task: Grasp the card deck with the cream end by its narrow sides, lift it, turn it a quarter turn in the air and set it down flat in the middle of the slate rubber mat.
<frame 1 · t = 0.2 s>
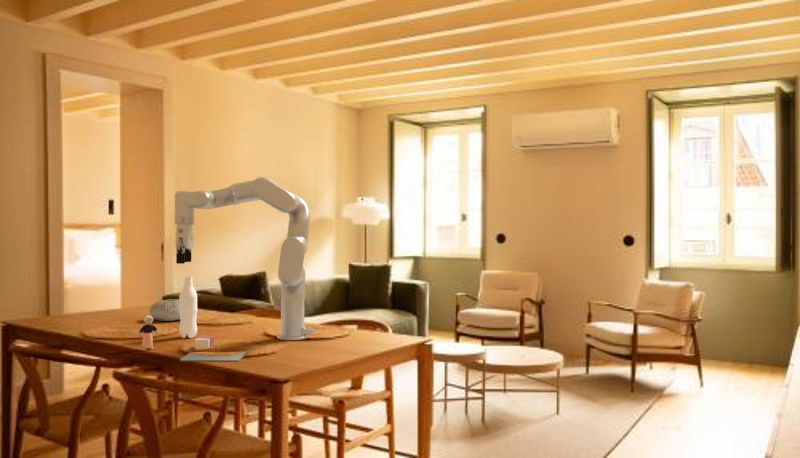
hand: (184, 262, 265), 31 cm above the table, tool pointing down, fingers open, 9 cm apart
mat: (214, 357, 228), on the table
grey rounded rock: (169, 320, 310), on the table
card deck: (204, 348, 244), on the table
grandmother figurine: (148, 349, 241), on the table
water bottle: (188, 337, 266), on the table
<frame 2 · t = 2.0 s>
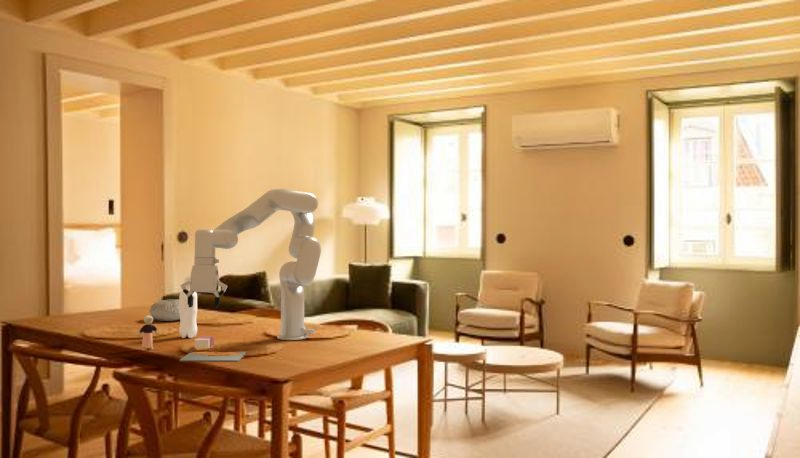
hand: (203, 307, 244), 16 cm above the table, tool pointing down, fingers open, 9 cm apart
nothing on the table moved.
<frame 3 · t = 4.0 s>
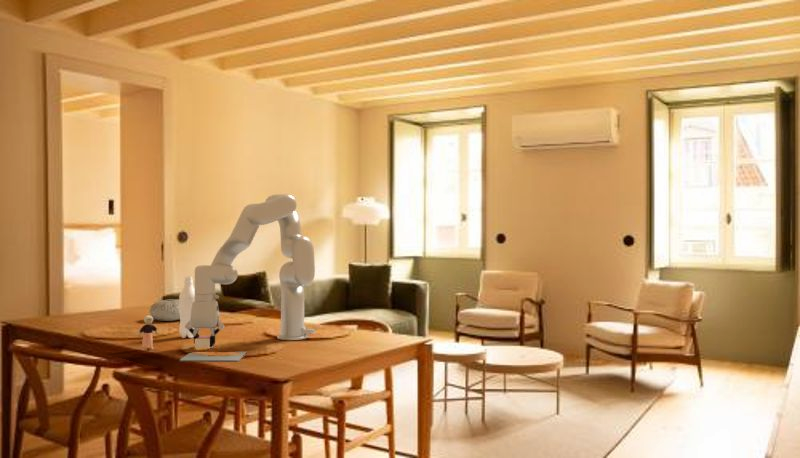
hand: (204, 345, 244), 1 cm above the table, tool pointing down, fingers closed on card deck, 4 cm apart
card deck: (204, 348, 244), on the table, touching gripper
everything else where it was.
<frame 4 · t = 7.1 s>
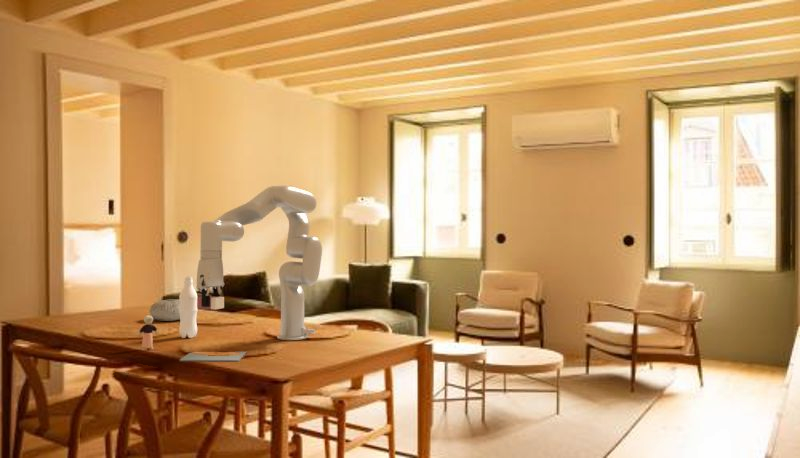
hand: (210, 305, 233), 18 cm above the table, tool pointing down, fingers closed on card deck, 4 cm apart
card deck: (210, 308, 233), point 17 cm above the table, touching gripper
everything else where it was.
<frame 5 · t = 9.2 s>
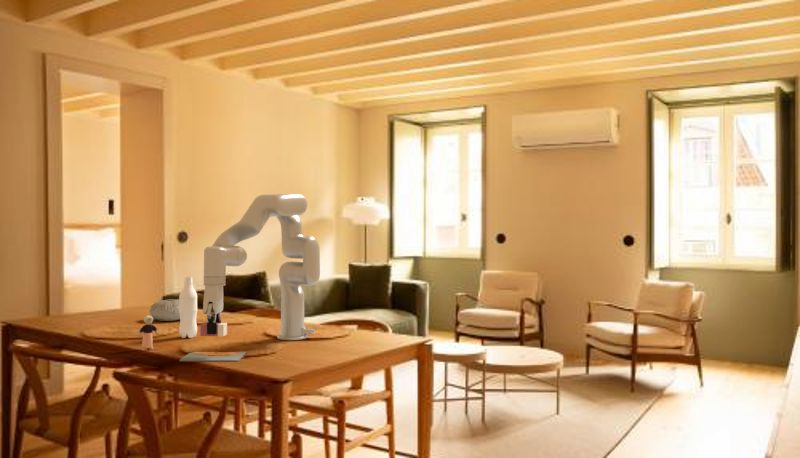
hand: (213, 332, 228), 9 cm above the table, tool pointing down, fingers closed on card deck, 4 cm apart
card deck: (213, 334, 228), point 8 cm above the table, touching gripper
everything else where it was.
when the fingers open (3 cm above the table, at t = 10.7 s): card deck drops 1 cm, resting on mat.
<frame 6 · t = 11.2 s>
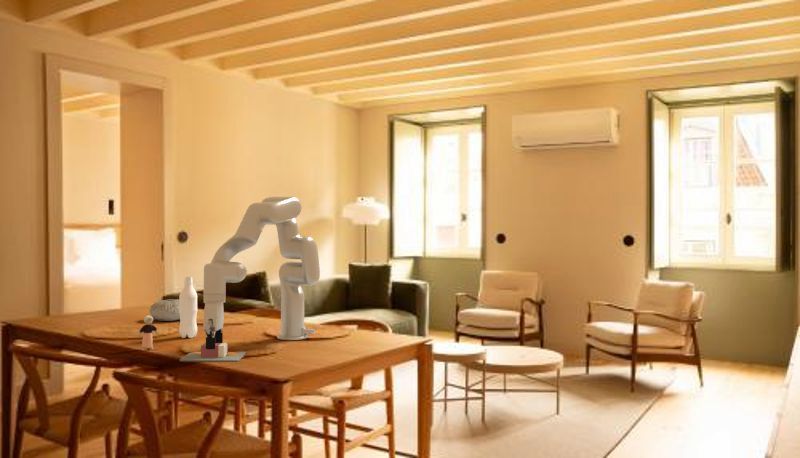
hand: (214, 346, 228), 4 cm above the table, tool pointing down, fingers open, 9 cm apart
card deck: (214, 355, 228), resting on mat
everything else where it was.
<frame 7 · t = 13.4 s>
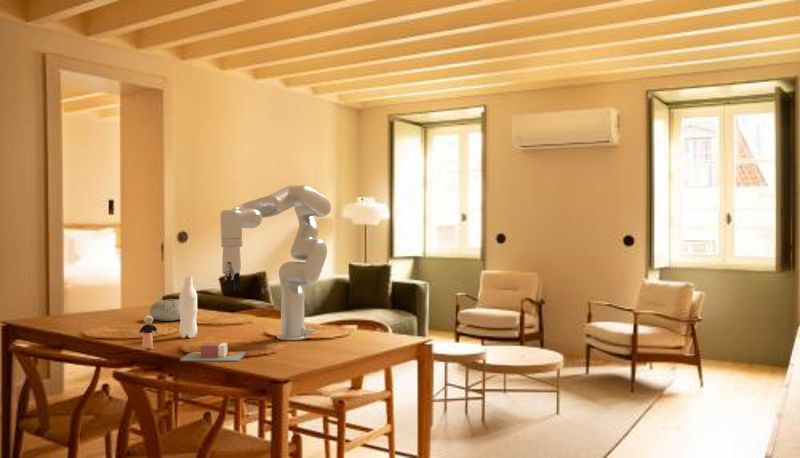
hand: (233, 288, 239), 23 cm above the table, tool pointing down, fingers open, 9 cm apart
nothing on the table moved.
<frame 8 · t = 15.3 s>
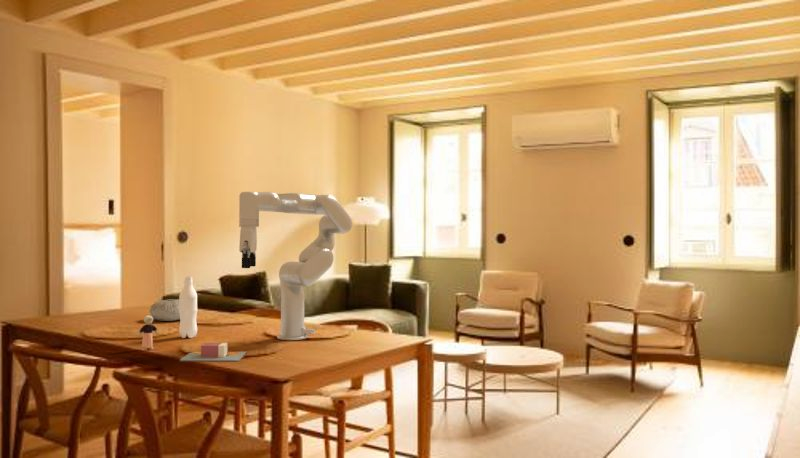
hand: (248, 267, 251), 30 cm above the table, tool pointing down, fingers open, 9 cm apart
nothing on the table moved.
at the end: card deck inside the target area on the mat (0.0 cm from its centre), point 0.5 cm above the mat's base; card deck tilted 0°; card deck touching mat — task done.
